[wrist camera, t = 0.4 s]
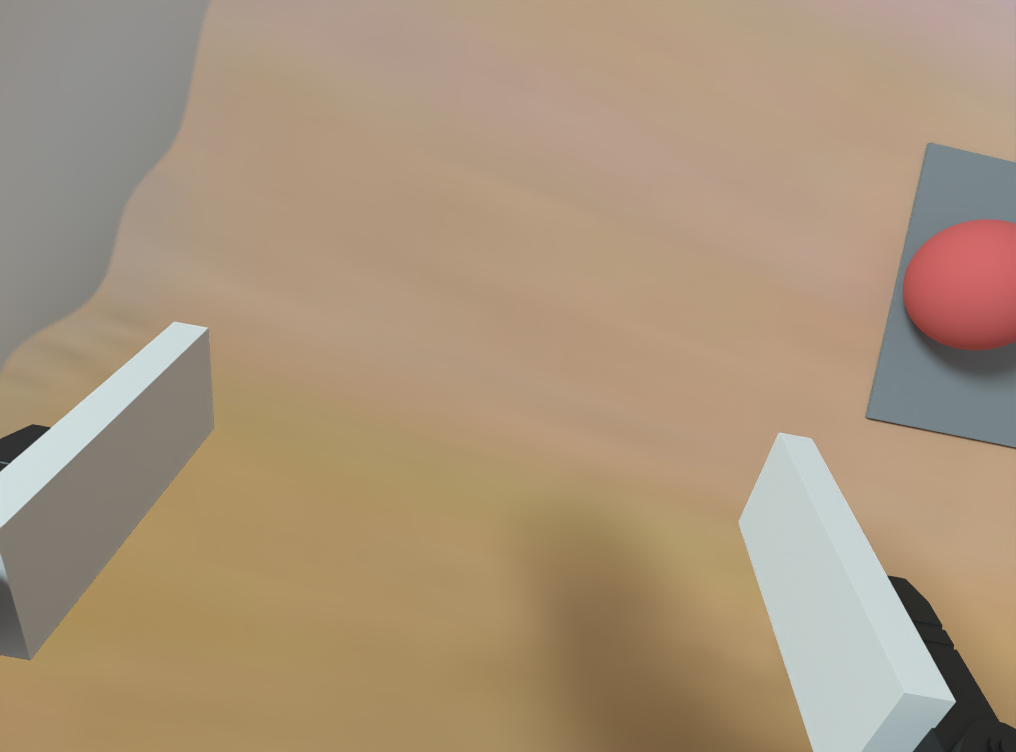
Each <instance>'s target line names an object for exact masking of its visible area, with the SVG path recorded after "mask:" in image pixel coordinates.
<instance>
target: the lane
mask: <svg viewBox="0 0 1016 752" xmlns="http://www.w3.org/2000/svg"><path fill="white" fill-rule="evenodd" d="M981 219H993V220H1003V221H1008V222H1012V223H1015V224H1016V163H1015V162H1010V161H1006V160H1002V159H998V158H993V157H989V156H985V155H981V154H976V153H972V152H968V151H963V150H959V149H955V148H951V147H946V146H942V145H938V144H934V143H928V144H927V148H926V153H925V157H924V161H923V166H922V170H921V175H920V179H919V183H918V188H917V192H916V197H915V201H914V205H913V210H912V214H911V219H910V223H909V228H908V232H907V236H906V241H905V245H904V250H903V254H902V258H901V263H900V267H899V272H898V276H897V280H896V285H895V289H894V294H893V298H892V302H891V307H890V311H889V316H888V320H887V325H886V329H885V333H884V338H883V342H882V347H881V351H880V355H879V360H878V364H877V369H876V373H875V377H874V382H873V386H872V391H871V395H870V399H869V404H868V408H867V413H866V417H867V418H872V419H877V420H882V421H887V422H892V423H897V424H902V425H907V426H912V427H917V428H922V429H927V430H932V431H937V432H941V433H946V434H951V435H956V436H961V437H966V438H971V439H976V440H981V441H986V442H991V443H996V444H1001V445H1006V446H1011V447H1016V342H1013V343H1011V344H1008V345H1006V346H1002V347H998V348H994V349H988V350H964V349H957V348H953V347H950V346H947V345H944V344H941V343H939V342H937V341H935V340H934V339H932V338H930V337H929V336H927V335H926V334H925V333H923V332H922V331H921V330H920V329H919V328H918V327H917V326H916V325H915V323H914V322H913V321H912V319H911V318H910V316H909V314H908V312H907V310H906V307H905V303H904V299H903V280H904V275H905V272H906V269H907V267H908V264H909V263H910V261H911V259H912V257H913V256H914V255H915V253H916V252H917V251H918V249H919V248H920V247H921V246H922V245H923V244H924V243H925V242H926V241H928V240H929V239H930V238H931V237H933V236H934V235H936V234H937V233H939V232H941V231H942V230H944V229H946V228H949V227H951V226H953V225H956V224H959V223H963V222H967V221H973V220H981Z"/></svg>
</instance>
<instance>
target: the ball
mask: <svg viewBox="0 0 1016 752" xmlns="http://www.w3.org/2000/svg"><path fill="white" fill-rule="evenodd" d="M903 299H904V303H905V307H906V310H907V312H908V314H909V316H910V318H911V319H912V321H913V322H914V323H915V325H916V326H917V327H918V328H919V329H920V330H921V331H922V332H923V333H925V334H926V335H927V336H929V337H930V338H932V339H934V340H935V341H937V342H939V343H941V344H944V345H947V346H950V347H953V348H957V349H964V350H988V349H994V348H998V347H1002V346H1006V345H1008V344H1011V343H1013V342H1016V224H1015V223H1012V222H1008V221H1003V220H993V219H981V220H973V221H967V222H963V223H959V224H956V225H953V226H951V227H949V228H946V229H944V230H942V231H941V232H939V233H937V234H936V235H934V236H933V237H931V238H930V239H929V240H928V241H926V242H925V243H924V244H923V245H922V246H921V247H920V248H919V249H918V251H917V252H916V253H915V255H914V256H913V257H912V259H911V261H910V263H909V264H908V267H907V269H906V272H905V275H904V280H903Z"/></svg>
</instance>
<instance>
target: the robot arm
mask: <svg viewBox="0 0 1016 752" xmlns="http://www.w3.org/2000/svg"><path fill="white" fill-rule="evenodd" d="M213 429H214V415H213V398H212V381H211V363H210V346H209V328H206V327H201V326H195V325H190V324H185V323H179V322H174V323H172V324H171V325H170V326H169V327H168V328H167V329H165V330H164V331H163V332H162V333H161V334H160V335H158V336H157V337H156V338H155V339H154V340H153V341H151V342H150V343H149V344H148V345H147V346H146V347H145V348H143V349H142V350H141V351H140V352H139V353H138V354H136V355H135V356H134V357H133V358H132V359H131V360H129V361H128V362H127V363H126V364H125V365H124V366H122V367H121V368H120V369H119V370H118V371H117V372H115V373H114V374H113V375H112V376H111V377H110V378H109V379H107V380H106V381H105V382H104V383H103V384H102V385H100V386H99V387H98V388H97V389H96V390H95V391H93V392H92V393H91V394H90V395H89V396H88V397H86V398H85V399H84V400H83V401H82V402H81V403H80V404H78V405H77V406H76V407H75V408H74V409H73V410H71V411H70V412H69V413H68V414H67V415H66V416H64V417H63V418H62V419H61V420H60V421H59V422H57V423H56V424H55V425H54V426H53V427H52V428H51V427H45V426H40V425H34V424H32V425H30V426H28V427H25V428H23V429H21V430H19V431H17V432H14V433H12V434H10V435H8V436H6V437H3V438H1V439H0V655H3V656H9V657H15V658H21V659H27V660H31V659H32V658H33V656H34V655H35V654H36V652H37V651H38V650H39V649H40V647H41V646H42V645H43V644H44V642H45V641H46V640H47V639H48V637H49V636H50V635H51V634H52V632H53V631H54V630H55V628H56V627H57V626H58V625H59V623H60V622H61V621H62V620H63V618H64V617H65V616H66V615H67V613H68V612H69V611H70V609H71V608H72V607H73V606H74V604H75V603H76V602H77V601H78V599H79V598H80V597H81V596H82V594H83V593H84V592H85V591H86V589H87V588H88V587H89V585H90V584H91V583H92V582H93V580H94V579H95V578H96V577H97V575H98V574H99V573H100V572H101V570H102V569H103V568H104V567H105V565H106V564H107V563H108V561H109V560H110V559H111V558H112V556H113V555H114V554H115V553H116V551H117V550H118V549H119V548H120V546H121V545H122V544H123V543H124V541H125V540H126V539H127V537H128V536H129V535H130V534H131V532H132V531H133V530H134V529H135V527H136V526H137V525H138V524H139V522H140V521H141V520H142V518H143V517H144V516H145V515H146V513H147V512H148V511H149V510H150V508H151V507H152V506H153V505H154V503H155V502H156V501H157V500H158V498H159V497H160V496H161V494H162V493H163V492H164V491H165V489H166V488H167V487H168V486H169V484H170V483H171V482H172V481H173V479H174V478H175V477H176V476H177V474H178V473H179V472H180V470H181V469H182V468H183V467H184V465H185V464H186V463H187V462H188V460H189V459H190V458H191V457H192V455H193V454H194V453H195V452H196V450H197V449H198V448H199V446H200V445H201V444H202V443H203V441H204V440H205V439H206V438H207V436H208V435H209V434H210V433H211V431H212V430H213ZM739 526H740V529H741V532H742V535H743V538H744V541H745V544H746V547H747V550H748V553H749V556H750V559H751V562H752V565H753V568H754V571H755V575H756V578H757V581H758V584H759V587H760V590H761V593H762V596H763V599H764V602H765V605H766V608H767V611H768V614H769V617H770V620H771V624H772V627H773V630H774V633H775V636H776V639H777V642H778V645H779V648H780V651H781V654H782V657H783V660H784V663H785V666H786V669H787V672H788V676H789V679H790V682H791V685H792V688H793V691H794V694H795V697H796V700H797V703H798V706H799V709H800V712H801V715H802V718H803V721H804V725H805V728H806V731H807V734H808V737H809V740H810V743H811V746H812V749H813V752H1016V729H1015V728H1013V727H1011V726H1009V725H1007V724H1005V723H1002V722H999V720H998V718H997V717H996V715H995V713H994V712H993V710H992V708H991V707H990V705H989V703H988V701H987V700H986V698H985V696H984V695H983V693H982V691H981V690H980V688H979V686H978V685H977V683H976V681H975V680H974V678H973V676H972V675H971V673H970V671H969V669H968V668H967V666H966V664H965V663H964V661H963V659H962V658H961V656H960V654H959V653H958V651H957V650H954V644H953V642H952V641H951V639H950V637H949V636H948V634H947V632H946V631H945V630H942V624H941V622H940V621H939V619H938V617H937V615H936V614H935V612H934V610H933V609H932V607H931V605H930V604H929V602H928V601H927V600H926V599H925V598H924V597H923V596H922V595H921V594H920V593H919V592H918V591H917V590H916V589H915V588H914V587H913V586H912V585H911V584H910V583H909V582H908V581H907V580H906V579H904V578H898V577H893V576H887V575H886V573H885V571H884V570H883V568H882V566H881V564H880V562H879V560H878V559H877V557H876V555H875V553H874V551H873V549H872V548H871V546H870V544H869V542H868V540H867V539H866V537H865V535H864V533H863V531H862V529H861V528H860V526H859V524H858V522H857V520H856V519H855V517H854V515H853V513H852V511H851V509H850V508H849V506H848V504H847V502H846V500H845V498H844V497H843V495H842V493H841V491H840V489H839V488H838V486H837V484H836V482H835V480H834V478H833V477H832V475H831V473H830V471H829V469H828V468H827V466H826V464H825V462H824V460H823V458H822V457H821V455H820V453H819V451H818V449H817V447H816V446H815V444H814V442H813V440H812V438H806V437H801V436H795V435H790V434H784V433H779V434H778V436H777V438H776V440H775V442H774V445H773V447H772V449H771V451H770V453H769V456H768V458H767V460H766V462H765V465H764V467H763V469H762V471H761V473H760V476H759V478H758V480H757V482H756V484H755V487H754V489H753V491H752V493H751V495H750V498H749V500H748V502H747V504H746V507H745V509H744V511H743V513H742V515H741V518H740V520H739Z"/></svg>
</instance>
